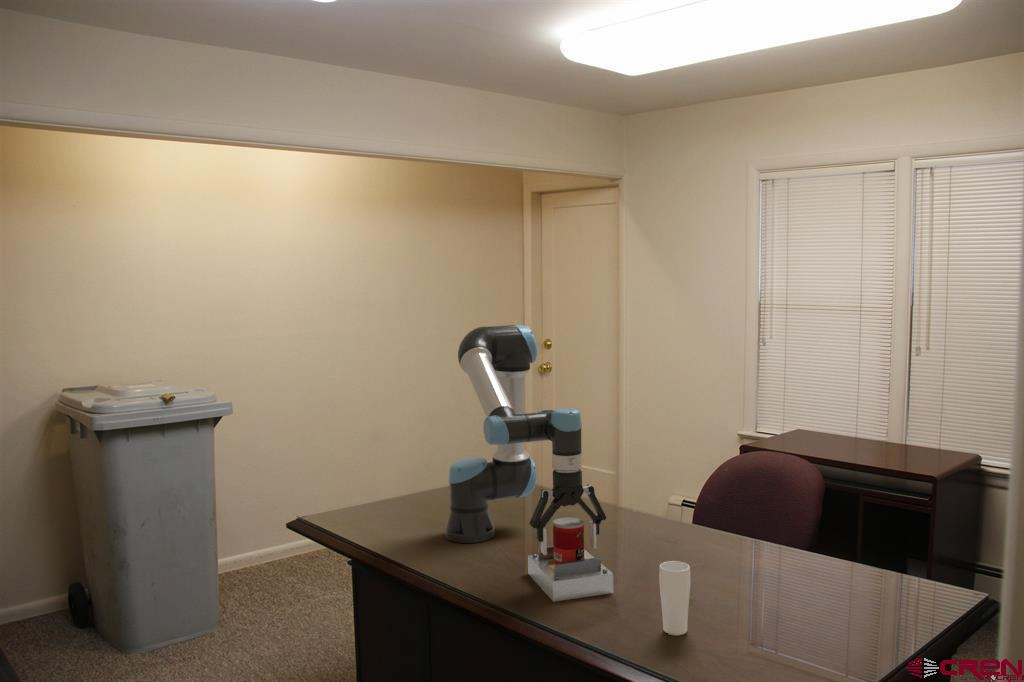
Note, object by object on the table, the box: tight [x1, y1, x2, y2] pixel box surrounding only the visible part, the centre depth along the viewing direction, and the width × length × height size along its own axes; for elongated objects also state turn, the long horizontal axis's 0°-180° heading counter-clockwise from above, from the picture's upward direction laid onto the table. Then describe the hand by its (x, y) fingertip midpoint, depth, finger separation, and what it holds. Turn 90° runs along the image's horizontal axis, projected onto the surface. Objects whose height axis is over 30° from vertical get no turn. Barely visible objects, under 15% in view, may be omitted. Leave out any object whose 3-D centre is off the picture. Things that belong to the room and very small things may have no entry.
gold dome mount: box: [527, 545, 614, 602], centre depth 214 cm, size 20×16×8 cm
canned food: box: [552, 517, 585, 563], centre depth 213 cm, size 8×8×11 cm
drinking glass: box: [658, 560, 691, 636], centre depth 184 cm, size 7×7×15 cm
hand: (568, 550), depth 214 cm, fingers open, 13 cm apart
